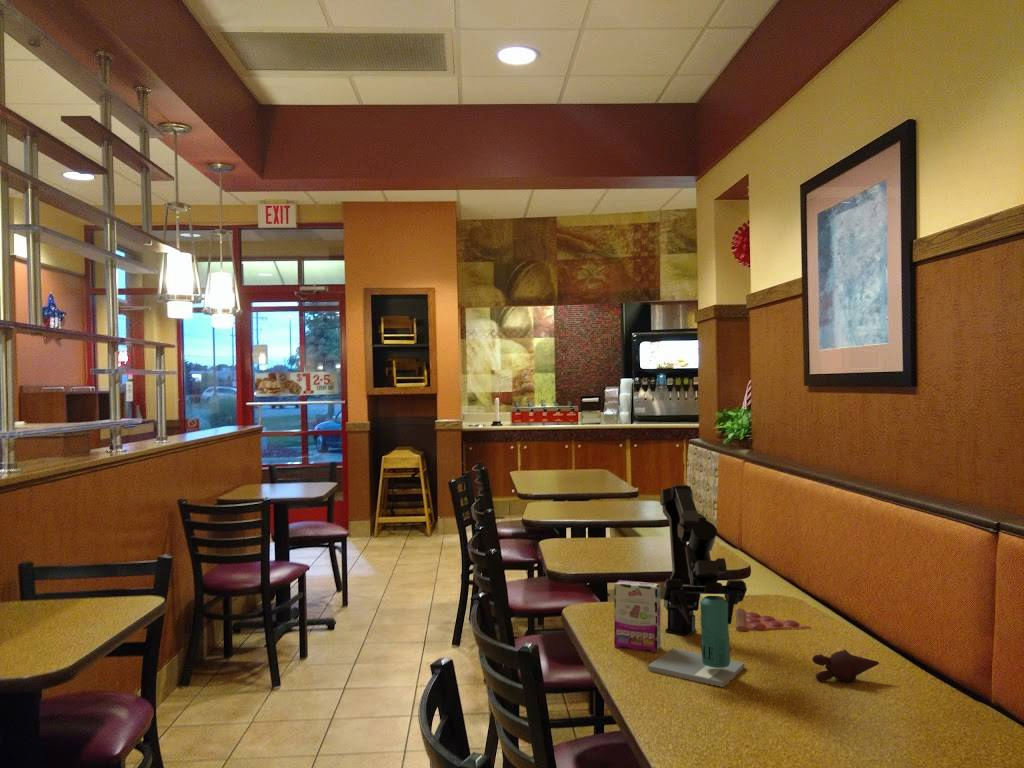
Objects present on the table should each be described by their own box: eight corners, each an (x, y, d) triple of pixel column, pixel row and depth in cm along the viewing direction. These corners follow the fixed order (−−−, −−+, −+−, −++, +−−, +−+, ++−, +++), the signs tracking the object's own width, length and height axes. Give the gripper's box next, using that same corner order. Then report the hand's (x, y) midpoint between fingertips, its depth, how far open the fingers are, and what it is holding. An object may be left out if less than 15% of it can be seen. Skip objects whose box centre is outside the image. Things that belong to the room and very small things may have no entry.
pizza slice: (736, 607, 229) (808, 613, 223) (736, 614, 229) (807, 621, 223) (736, 625, 211) (814, 632, 205) (735, 633, 211) (814, 641, 205)
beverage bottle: (734, 668, 178) (732, 581, 179) (725, 677, 173) (722, 587, 173) (707, 663, 182) (705, 578, 182) (697, 671, 176) (694, 583, 177)
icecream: (867, 645, 181) (805, 651, 180) (883, 647, 174) (817, 654, 173) (874, 676, 179) (810, 683, 178) (889, 680, 172) (823, 686, 171)
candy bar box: (661, 647, 197) (661, 583, 197) (657, 653, 192) (657, 587, 192) (618, 641, 201) (618, 578, 201) (613, 647, 197) (613, 583, 197)
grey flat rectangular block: (647, 670, 181) (648, 664, 181) (672, 652, 193) (672, 647, 193) (723, 687, 170) (723, 681, 170) (744, 667, 183) (744, 662, 183)
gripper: (665, 544, 182) (673, 604, 171) (744, 545, 181) (758, 606, 170) (659, 570, 190) (667, 629, 179) (735, 571, 189) (748, 630, 178)
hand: (709, 623), depth 176 cm, fingers open, 9 cm apart
